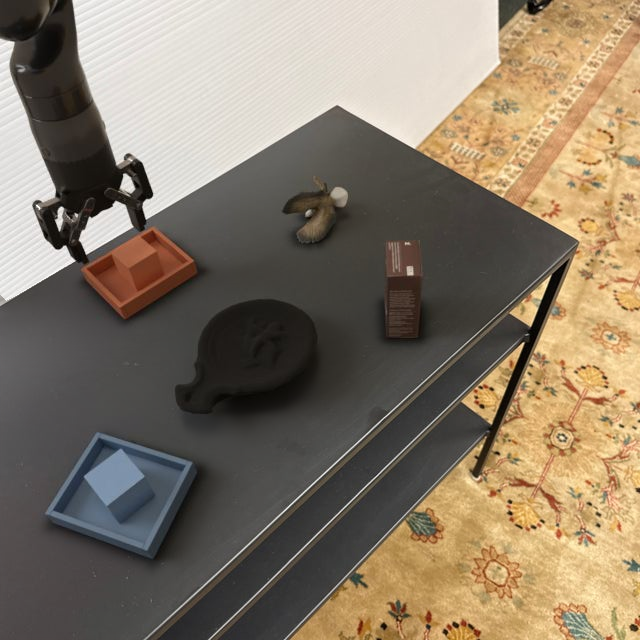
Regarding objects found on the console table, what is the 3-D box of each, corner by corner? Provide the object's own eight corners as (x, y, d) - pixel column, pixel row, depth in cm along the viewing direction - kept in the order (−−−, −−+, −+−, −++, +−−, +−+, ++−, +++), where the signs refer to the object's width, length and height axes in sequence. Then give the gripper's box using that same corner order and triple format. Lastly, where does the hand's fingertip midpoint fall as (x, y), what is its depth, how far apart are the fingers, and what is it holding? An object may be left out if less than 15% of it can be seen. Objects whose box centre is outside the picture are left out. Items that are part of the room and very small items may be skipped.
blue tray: (53, 523, 69) (44, 513, 67) (103, 442, 75) (96, 431, 73) (153, 559, 66) (147, 550, 64) (197, 472, 72) (193, 462, 70)
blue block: (119, 524, 68) (106, 506, 65) (96, 495, 70) (83, 476, 67) (155, 495, 70) (145, 476, 67) (132, 467, 72) (120, 448, 69)
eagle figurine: (301, 191, 101) (270, 217, 95) (325, 162, 96) (294, 188, 89) (335, 225, 101) (307, 253, 95) (361, 199, 96) (333, 227, 90)
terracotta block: (137, 291, 90) (128, 268, 86) (119, 274, 92) (110, 251, 88) (164, 274, 91) (156, 250, 88) (146, 258, 94) (138, 234, 90)
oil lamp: (147, 387, 80) (137, 364, 76) (263, 299, 88) (259, 274, 84) (225, 462, 73) (218, 440, 69) (343, 358, 81) (342, 334, 78)
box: (382, 304, 87) (385, 239, 78) (415, 304, 87) (422, 238, 77) (383, 339, 83) (386, 275, 74) (418, 340, 83) (426, 275, 73)
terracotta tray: (124, 319, 87) (119, 307, 85) (86, 280, 92) (80, 268, 90) (197, 273, 92) (194, 260, 90) (157, 238, 97) (153, 226, 95)
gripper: (109, 100, 77) (140, 205, 90) (-3, 152, 71) (48, 257, 83) (144, 126, 74) (172, 231, 86) (30, 182, 67) (78, 287, 80)
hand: (111, 244), depth 85 cm, fingers open, 8 cm apart
